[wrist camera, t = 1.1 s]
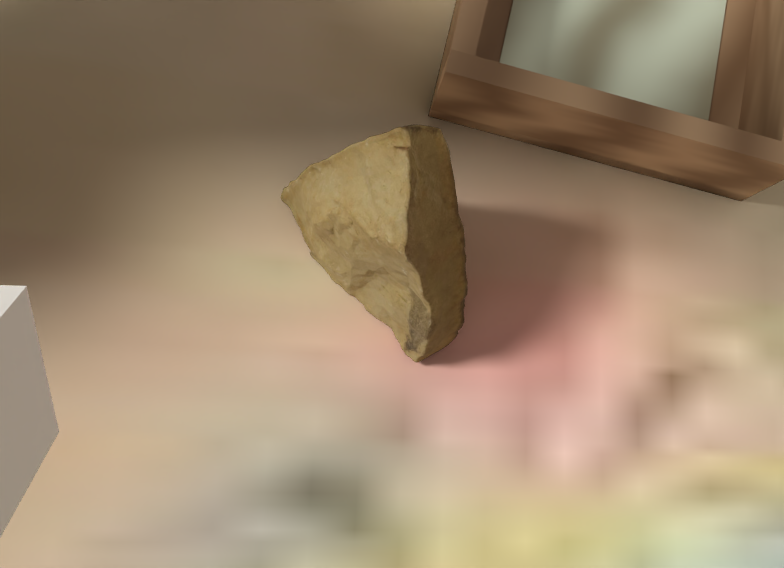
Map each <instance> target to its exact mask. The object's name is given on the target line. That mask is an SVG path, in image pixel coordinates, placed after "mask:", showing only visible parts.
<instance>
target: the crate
mask: <svg viewBox="0 0 784 568" xmlns="http://www.w3.org/2000/svg"><path fill="white" fill-rule="evenodd" d="M428 116H430V117H434V118H438V119H441V120H445V121H449V122H452V123H456V124H460V125H463V126H467V127H471V128H474V129H478V130H482V131H486V132H489V133H493V134H497V135H500V136H504V137H508V138H511V139H515V140H519V141H522V142H526V143H530V144H533V145H537V146H541V147H544V148H548V149H552V150H555V151H559V152H563V153H566V154H570V155H574V156H577V157H581V158H585V159H588V160H592V161H596V162H599V163H603V164H607V165H610V166H614V167H618V168H622V169H625V170H629V171H633V172H636V173H640V174H644V175H647V176H651V177H655V178H658V179H662V180H666V181H669V182H673V183H677V184H680V185H684V186H688V187H691V188H695V189H699V190H702V191H706V192H710V193H713V194H717V195H721V196H724V197H728V198H732V199H735V200H739V201H742V200H744V199H746V198H748V197H750V196H752V195H754V194H756V193H758V192H760V191H762V190H764V189H766V188H768V187H770V186H772V185H774V184H776V183H778V182H780V181H782V180H784V0H456V4H455V8H454V12H453V17H452V21H451V25H450V29H449V33H448V37H447V41H446V45H445V49H444V54H443V58H442V62H441V66H440V70H439V74H438V78H437V82H436V86H435V91H434V95H433V99H432V103H431V107H430V111H429V115H428Z"/></svg>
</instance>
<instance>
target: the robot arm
mask: <svg viewBox="0 0 784 568" xmlns="http://www.w3.org/2000/svg"><path fill="white" fill-rule="evenodd" d="M58 433H59V429H58V424H57V420H56V415H55V411H54V406H53V402H52V397H51V393H50V388H49V384H48V379H47V375H46V370H45V366H44V361H43V357H42V352H41V348H40V343H39V339H38V334H37V330H36V325H35V321H34V316H33V312H32V308H31V303H30V299H29V294H28V290H27V286H13V285H0V537H1V535H2V534H3V532H4V530H5V528H6V526H7V525H8V523H9V521H10V519H11V517H12V516H13V514H14V512H15V510H16V508H17V507H18V505H19V503H20V501H21V499H22V498H23V496H24V494H25V492H26V490H27V489H28V487H29V485H30V483H31V481H32V480H33V478H34V476H35V474H36V472H37V471H38V469H39V467H40V465H41V463H42V462H43V460H44V458H45V456H46V454H47V452H48V451H49V449H50V447H51V445H52V443H53V442H54V440H55V438H56V436H57V434H58Z"/></svg>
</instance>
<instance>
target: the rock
mask: <svg viewBox="0 0 784 568" xmlns="http://www.w3.org/2000/svg"><path fill="white" fill-rule="evenodd" d="M281 199H282V201H283V202H284V203H286V204H287V205H288V206H289V207H290V209H291V210H292V213H293V215H294V217H295V219H296V222H297V224H298V225H299V227H300V228H301V231H302V234H303V237H304V240H305V242H306V243H307V245H308V247H309V248H310V250H311V253H310V254H311V256H312V257H313V258H314V259H315V260H316V261H317V262H318V263H319V264H320V265H321V266H322V267H323V268H324V269H325V270H326V272H327V273H328V274H329V275H330V277H331V278H332V280H333V281H334V282H335V283H337V284H339V285H340V286H341V287H342V288H343V289H344V290H345V291H346V292H347V293H348V294H350V295H352V296H355V297H356V298H357V299H358V300H359V301H360V302H361V303H362V304H363V305H364V306H365V308H366V310H367V311H368V312H369V313H371V314H372V315H373V316H374V317H376V318H377V319H378V320H380V321H382V322H383V323H385V324H386V325H388V326H389V327H390V328H391V329H392V330H393V332H394V334H395V337H396V338H397V340H398V342H399V343H400V345H401V347H402V350H403V351H404V352H405V354H406V355H407V356H408V357H410V358H411V359H412V360H413V361H414V362H420V361H421V360H423V359H425V358H427V357H428V356H430V355H432V354H433V353H435V352H437V351H439V350H441V349H443V348H444V347H445V346H447V345H448V344H449V343H450V342H452V341H453V339H454V338H455V337H456V336H457V334H458V330H459V329H460V328H461V327H462V325H463V323H464V306H465V304H464V302H465V296H466V295H467V278H466V271H465V263H466V255H465V250H464V247H465V239H464V229H463V224H462V222H461V219H460V217H459V214H458V204H457V197H456V191H455V181H454V176H453V171H452V166H451V160H450V151H449V148H448V146H447V143H446V141H445V139H444V137H443V135H442V131H441V129H439V128H435V127H431V126H424V125H409V126H404V127H398V128H395V129H393V130H391V131H389V132H386V133H383V134H380V135H375V136H370V137H369V138H367V139H366V140H364V141H361V142H357V143H354V144H352V145H350V146H348V147H346V148H345V149H343V150H342V151H341V152H339V153H337V154H333V155H332V156H331V157H329V158H328V159H324V160H322V161H321V162H318V163H314V164H311V165H310V166H309V167H307V168H306V169H305V170H304V171H303V172H302V173H301V174H300V175H299V177H298V178H297V179H296V180H294V181H291V182H290V183H289V186H288V187H285V188H284V189H283V192H282V195H281Z"/></svg>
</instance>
